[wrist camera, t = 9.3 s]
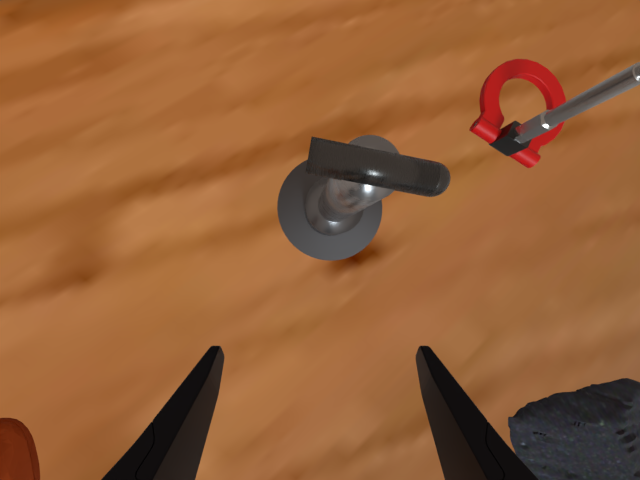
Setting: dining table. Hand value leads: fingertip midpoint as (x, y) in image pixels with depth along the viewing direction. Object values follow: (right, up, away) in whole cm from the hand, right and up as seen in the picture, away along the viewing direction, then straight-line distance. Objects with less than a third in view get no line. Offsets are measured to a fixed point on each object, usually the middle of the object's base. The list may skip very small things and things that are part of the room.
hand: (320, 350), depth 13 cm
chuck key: (+1, +8, +11) cm, 14 cm away
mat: (+1, +8, +12) cm, 14 cm away
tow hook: (+18, +17, +14) cm, 29 cm away
